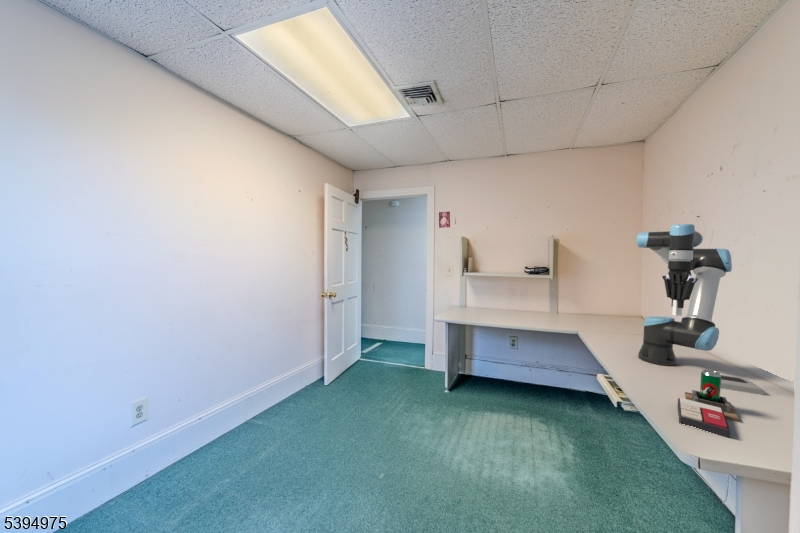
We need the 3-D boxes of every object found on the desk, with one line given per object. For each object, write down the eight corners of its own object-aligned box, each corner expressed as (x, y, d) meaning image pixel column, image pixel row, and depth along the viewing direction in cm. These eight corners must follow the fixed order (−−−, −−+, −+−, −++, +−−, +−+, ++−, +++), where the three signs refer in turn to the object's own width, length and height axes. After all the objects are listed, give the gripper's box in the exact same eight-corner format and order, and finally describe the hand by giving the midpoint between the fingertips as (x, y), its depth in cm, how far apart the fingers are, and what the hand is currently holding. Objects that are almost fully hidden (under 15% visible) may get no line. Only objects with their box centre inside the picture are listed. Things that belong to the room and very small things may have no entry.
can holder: (684, 394, 116) (685, 385, 116) (729, 404, 108) (730, 395, 108) (688, 409, 105) (689, 399, 104) (739, 422, 97) (739, 412, 97)
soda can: (723, 408, 103) (725, 375, 103) (706, 406, 105) (708, 373, 104) (711, 401, 108) (713, 369, 108) (695, 399, 109) (697, 368, 109)
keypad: (764, 387, 116) (712, 379, 123) (763, 396, 116) (711, 387, 123) (749, 378, 125) (701, 371, 132) (749, 386, 125) (701, 379, 132)
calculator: (679, 414, 95) (678, 395, 106) (678, 426, 95) (677, 406, 106) (730, 427, 88) (722, 406, 99) (729, 441, 88) (721, 418, 99)
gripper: (657, 260, 131) (654, 312, 132) (688, 260, 118) (684, 318, 119) (673, 260, 132) (669, 312, 133) (705, 261, 119) (701, 318, 120)
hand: (676, 315), depth 126 cm, fingers closed
